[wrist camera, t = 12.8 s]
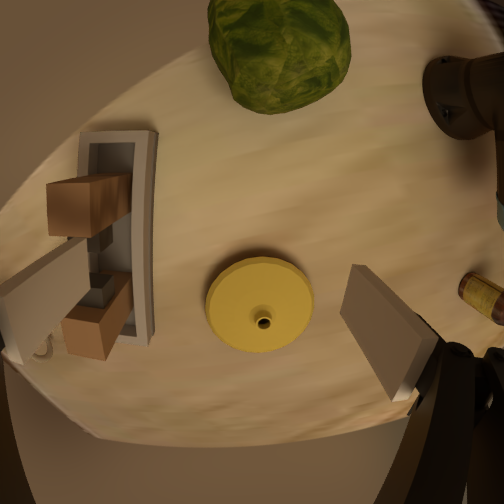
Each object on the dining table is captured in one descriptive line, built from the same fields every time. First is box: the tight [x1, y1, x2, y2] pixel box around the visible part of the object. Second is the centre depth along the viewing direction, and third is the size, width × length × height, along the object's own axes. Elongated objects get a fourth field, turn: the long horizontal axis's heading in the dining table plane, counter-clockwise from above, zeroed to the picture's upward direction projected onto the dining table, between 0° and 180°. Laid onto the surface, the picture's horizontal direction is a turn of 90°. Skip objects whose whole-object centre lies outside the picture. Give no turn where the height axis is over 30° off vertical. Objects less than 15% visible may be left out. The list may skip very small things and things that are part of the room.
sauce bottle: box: [459, 273, 504, 326], centre depth 39 cm, size 6×6×20 cm
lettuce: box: [208, 0, 351, 115], centre depth 27 cm, size 16×21×15 cm
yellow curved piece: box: [205, 256, 314, 353], centre depth 41 cm, size 16×16×7 cm
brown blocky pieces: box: [61, 130, 159, 361], centre depth 33 cm, size 30×10×16 cm, turn 174°
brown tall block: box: [46, 173, 133, 253], centre depth 30 cm, size 8×5×14 cm, turn 175°
